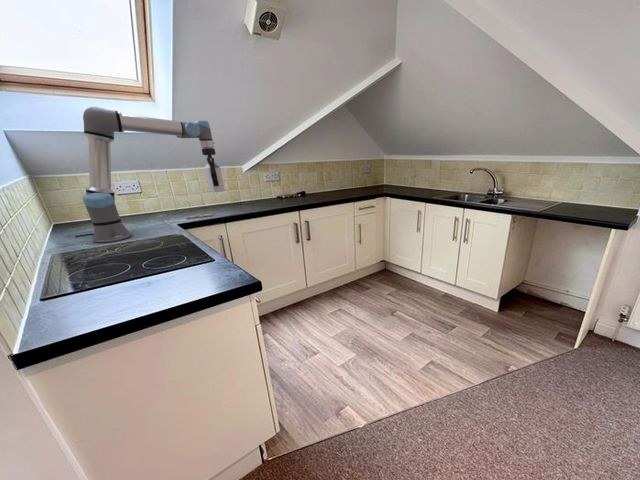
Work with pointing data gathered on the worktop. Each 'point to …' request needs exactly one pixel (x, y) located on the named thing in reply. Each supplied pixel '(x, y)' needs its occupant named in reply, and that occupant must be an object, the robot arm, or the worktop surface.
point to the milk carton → (210, 179)
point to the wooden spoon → (200, 216)
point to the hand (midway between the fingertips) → (216, 185)
